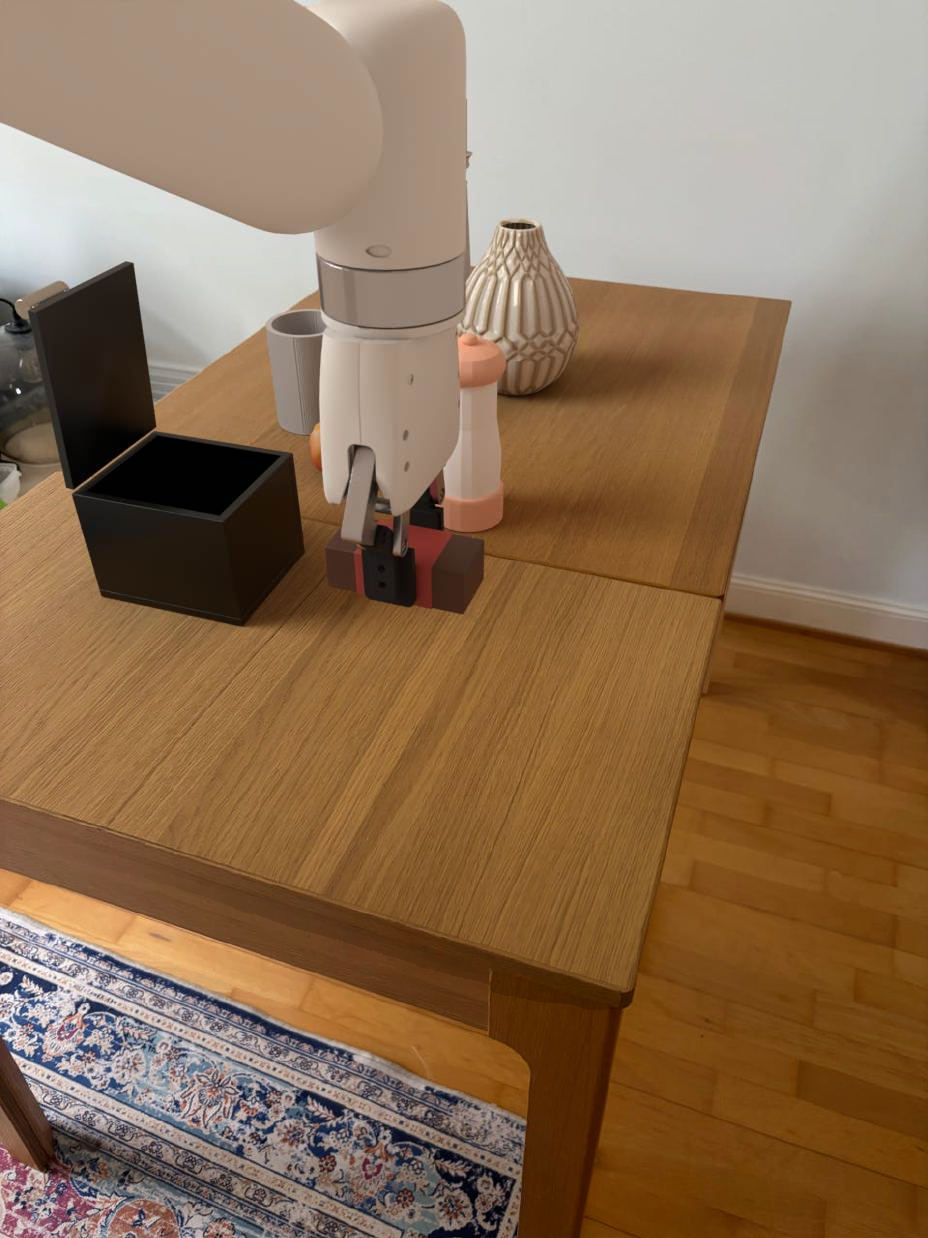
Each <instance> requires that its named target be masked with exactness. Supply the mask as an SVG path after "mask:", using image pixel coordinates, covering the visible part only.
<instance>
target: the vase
mask: <svg viewBox="0 0 928 1238" xmlns="http://www.w3.org/2000/svg"><path fill="white" fill-rule="evenodd" d="M573 292H574V291H573V290H572V286H571V285H570V282H569V280H568V278H567V276H566V275H565V272H564V271H563V268H562V267H561V266H560V263H558V261H557V260H556V258H555V256H554V255H553V254H552V252H551V250H550V249H549V246H548V243H547V239H546V236H545V231H544V227H543V225H542V223H541V222H539V221H537V220H534V219H530V218H518V217H517V218H516V217H515V218H508V219H503V220H500V221H499V222H498V223H497V224H496V226H495V229H494V231H493V235H492V238H491V241H490V243H489V246H488V248H487V250H486V251H485V253H484V254H483V256H481V258H480V259H479V261H478V262H477V263H476V265H475V266H474V268H473V269H472V270H471V274H470V276H469V277H468V279H467V281H466V315H465V318H464V320H462V321H461V323H459V324H458V325H457V338H458V337H461V336H462V335H463V334H465V333H473V334H475V335H476V337H480V338H483V339H486V340H489V341H492V342H494V343H496V344H497V345H498V346H499V347H500V349H501V350H502V352H503V353H504V355H505V359H506V368H505V371H504V373H503V375H502V377H501V378H500V379H499V380H498V381H497V394H500V395H505V396H506V395H507V396H524V395H525V396H526V395H531V394H535V393H537V392H540V391H542V390H543V389H545V388H547V387H548V386H549V385H552V383H554V382H555V381H556V380H557V379H558V378H559V377H560V376H562V374H563V373H564V371H565V370H566V368H567V367H568V365H569V364H570V361H571V360H572V358H573V355H574V354H575V351H576V350H575V349H576V347H577V344H578V343H577V342H578V338H579V331H580V321H579V313H578V307H577V302H576V299H575V296H574V293H573Z"/></svg>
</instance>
